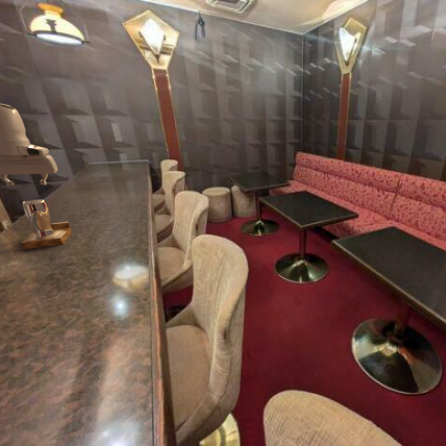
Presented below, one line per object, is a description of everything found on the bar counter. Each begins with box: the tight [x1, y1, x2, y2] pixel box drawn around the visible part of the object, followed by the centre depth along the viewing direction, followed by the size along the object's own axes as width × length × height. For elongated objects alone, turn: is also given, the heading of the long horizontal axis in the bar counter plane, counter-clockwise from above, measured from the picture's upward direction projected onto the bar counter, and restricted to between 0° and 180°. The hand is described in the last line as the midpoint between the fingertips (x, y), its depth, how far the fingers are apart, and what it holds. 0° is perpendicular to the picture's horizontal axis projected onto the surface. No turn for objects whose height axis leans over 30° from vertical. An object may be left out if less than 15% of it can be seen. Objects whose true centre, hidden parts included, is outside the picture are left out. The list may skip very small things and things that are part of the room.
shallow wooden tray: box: [21, 221, 73, 250], centre depth 108 cm, size 12×14×6 cm
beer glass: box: [21, 199, 55, 238], centre depth 104 cm, size 7×7×15 cm
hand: (27, 185), depth 99 cm, fingers open, 8 cm apart
